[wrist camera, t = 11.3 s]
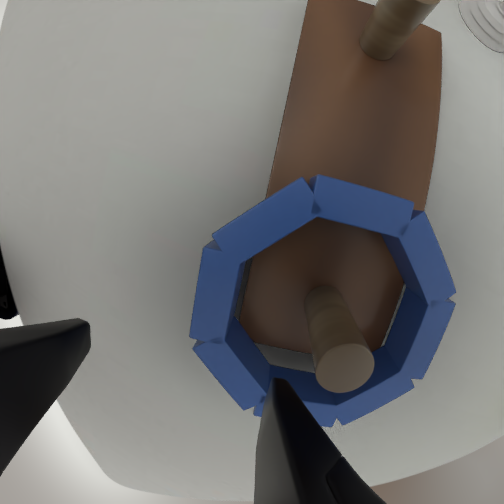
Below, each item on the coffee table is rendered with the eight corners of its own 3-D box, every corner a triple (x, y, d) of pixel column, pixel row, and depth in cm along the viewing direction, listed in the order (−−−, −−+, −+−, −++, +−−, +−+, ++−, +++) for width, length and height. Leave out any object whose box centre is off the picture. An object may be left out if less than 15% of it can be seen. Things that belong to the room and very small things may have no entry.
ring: (195, 369, 16) (180, 397, 13) (232, 160, 14) (221, 153, 11) (380, 402, 16) (392, 431, 13) (450, 219, 13) (479, 225, 10)
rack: (238, 326, 17) (210, 411, 10) (308, 1, 13) (318, -82, 5) (367, 351, 17) (405, 436, 9) (431, 41, 12) (491, -13, 5)
